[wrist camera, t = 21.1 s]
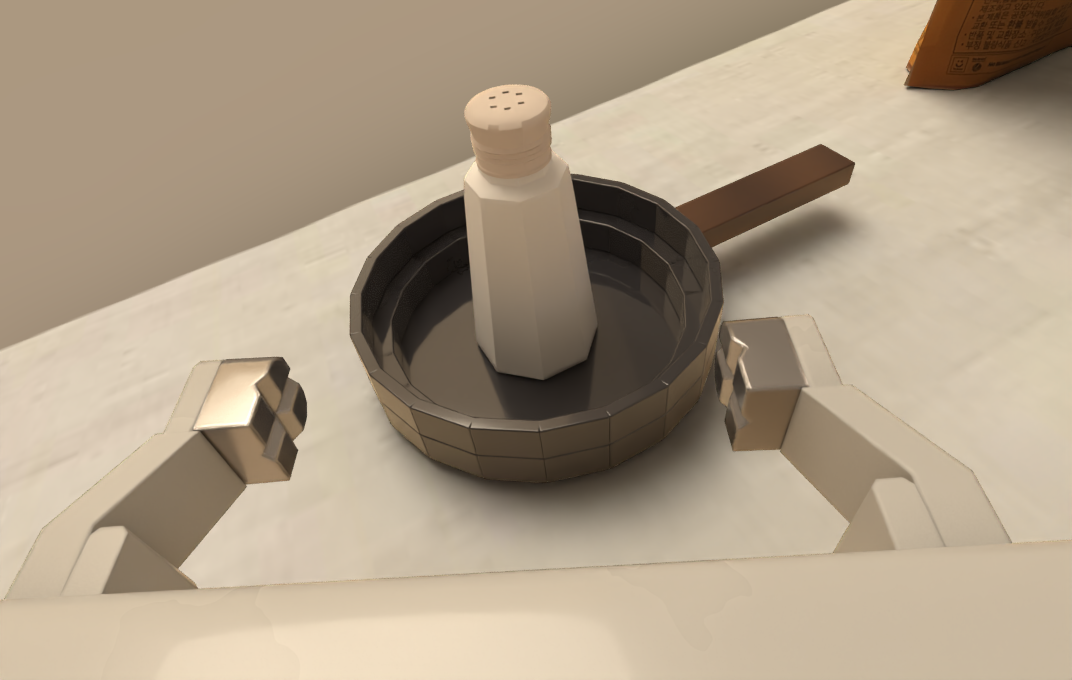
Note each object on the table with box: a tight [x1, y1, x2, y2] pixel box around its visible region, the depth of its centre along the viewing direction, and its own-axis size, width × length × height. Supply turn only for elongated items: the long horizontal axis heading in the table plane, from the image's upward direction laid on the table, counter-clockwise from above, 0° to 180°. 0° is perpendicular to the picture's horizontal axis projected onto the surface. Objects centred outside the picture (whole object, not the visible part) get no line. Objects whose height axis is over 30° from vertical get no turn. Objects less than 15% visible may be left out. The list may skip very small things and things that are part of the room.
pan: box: [350, 174, 724, 483], centre depth 27 cm, size 15×15×4 cm
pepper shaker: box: [464, 85, 598, 380], centre depth 24 cm, size 5×5×11 cm
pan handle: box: [675, 144, 855, 248], centre depth 30 cm, size 10×2×1 cm, turn 119°
